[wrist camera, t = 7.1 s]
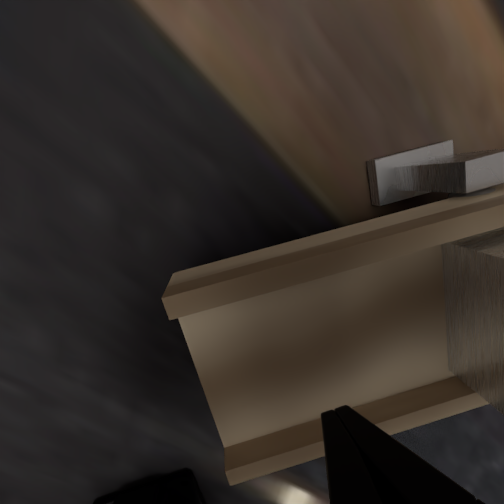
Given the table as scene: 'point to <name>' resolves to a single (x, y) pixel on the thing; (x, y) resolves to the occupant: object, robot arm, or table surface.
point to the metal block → (476, 312)
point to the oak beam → (328, 331)
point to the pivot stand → (433, 172)
